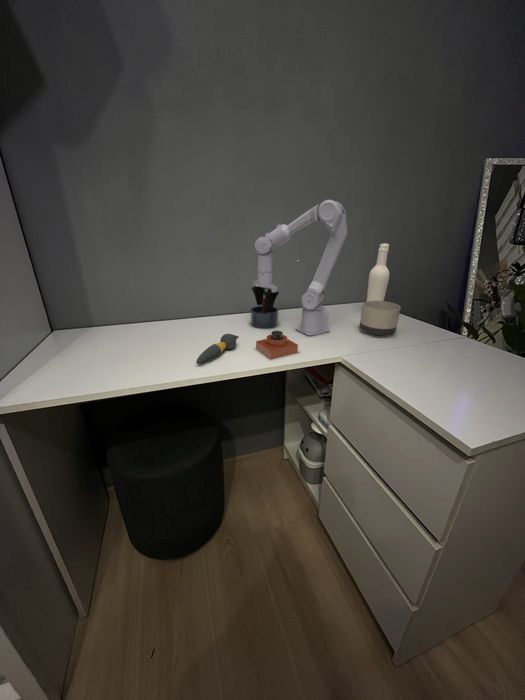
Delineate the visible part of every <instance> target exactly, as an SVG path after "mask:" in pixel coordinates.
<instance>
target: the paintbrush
mask: <svg viewBox="0 0 525 700" xmlns="http://www.w3.org/2000/svg"><path fill="white" fill-rule="evenodd" d="M239 338H240V336H239V335H236V334H232V333H225V334H223V335H222V336H221V337H220V342H217V343H213V344H211V345H210V346H209V347H207V348H205V349H204V350H203V351H202V352H201V353H200V354H199V355H198V357H197V359H196V362H195V363H196V364H197V365H203V364H206V363H208V362H211V361H212V360H214V359H216V358H217V357H219V356H220V355H221V354H222V353H223V351H224V350H232V349H234V348H235V346H236V344H237V340H238V339H239Z"/></svg>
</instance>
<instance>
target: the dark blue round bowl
mask: <svg viewBox="0 0 525 700" xmlns="http://www.w3.org/2000/svg"><path fill="white" fill-rule="evenodd" d="M260 311H262V305H257V306H254V307H251V308H250V326H251V327H253V328H256V329H261V330H262V329H265V330H266V329H267V330H268V329H274V328H276V327H277V326H278V325H279V309H278V307H275V306H273V309H271V310H267V311H269V312H271V313H258V312H260Z"/></svg>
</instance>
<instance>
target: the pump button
mask: <svg viewBox="0 0 525 700" xmlns="http://www.w3.org/2000/svg"><path fill="white" fill-rule="evenodd" d="M270 335H271V339H273V340H282V339H283V335H284V332H283V331H281V330H273V331H271V333H270Z"/></svg>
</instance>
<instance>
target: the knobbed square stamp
mask: <svg viewBox="0 0 525 700" xmlns="http://www.w3.org/2000/svg"><path fill="white" fill-rule="evenodd" d="M255 349H256V350H257V351H258V352H260V353H261V354H262V355H264V356H265V357H266V358H268V359H270V360H272V359H273V360H274V359H278V358H281V357H286V356H289V355H293V354H297V353H298V352H299V344H297V343H296V342H294V341H292V340H291V339H289V338H288V336H287V335H285V334H283V339H282V340H273V339H271V334H268V335H266V338H265V339H259V340H256V341H255Z"/></svg>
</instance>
